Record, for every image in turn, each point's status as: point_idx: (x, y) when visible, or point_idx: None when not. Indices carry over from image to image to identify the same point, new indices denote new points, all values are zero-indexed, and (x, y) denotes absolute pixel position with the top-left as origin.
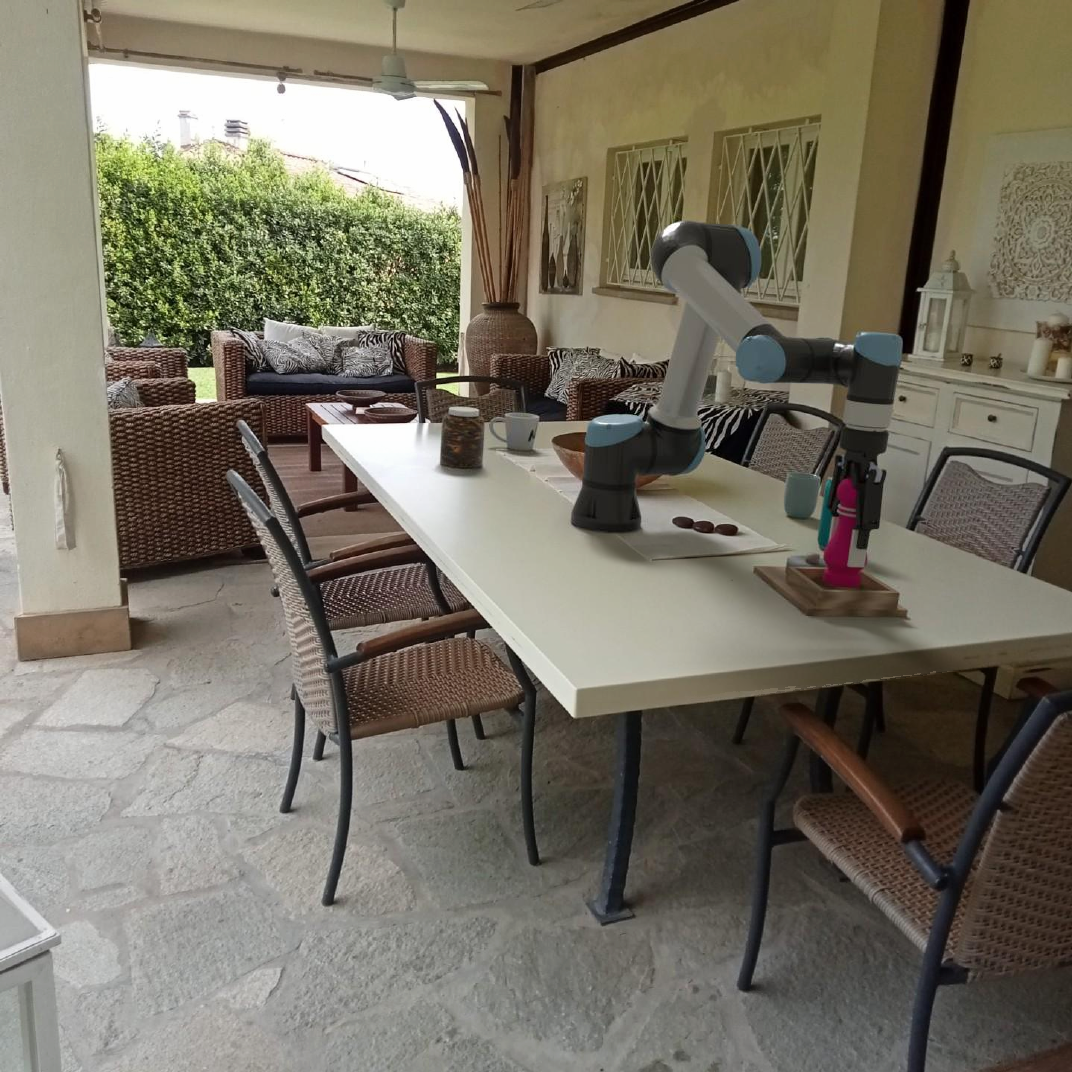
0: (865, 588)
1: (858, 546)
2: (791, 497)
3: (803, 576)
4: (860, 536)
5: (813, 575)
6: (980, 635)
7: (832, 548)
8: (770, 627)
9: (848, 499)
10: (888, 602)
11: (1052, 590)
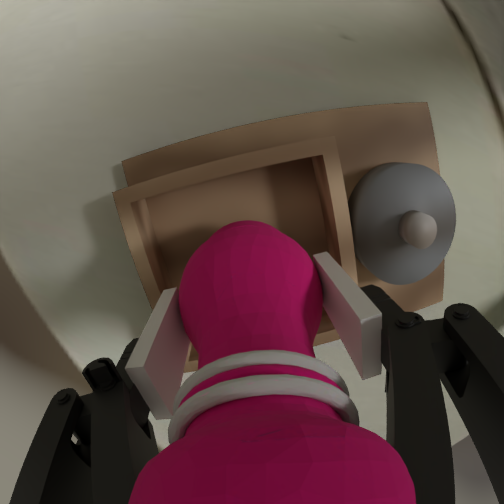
0: None
1: (134, 343)
2: None
3: (242, 162)
4: (121, 368)
5: (328, 209)
6: (152, 422)
7: (211, 257)
8: (50, 92)
9: (147, 465)
10: None
11: None
